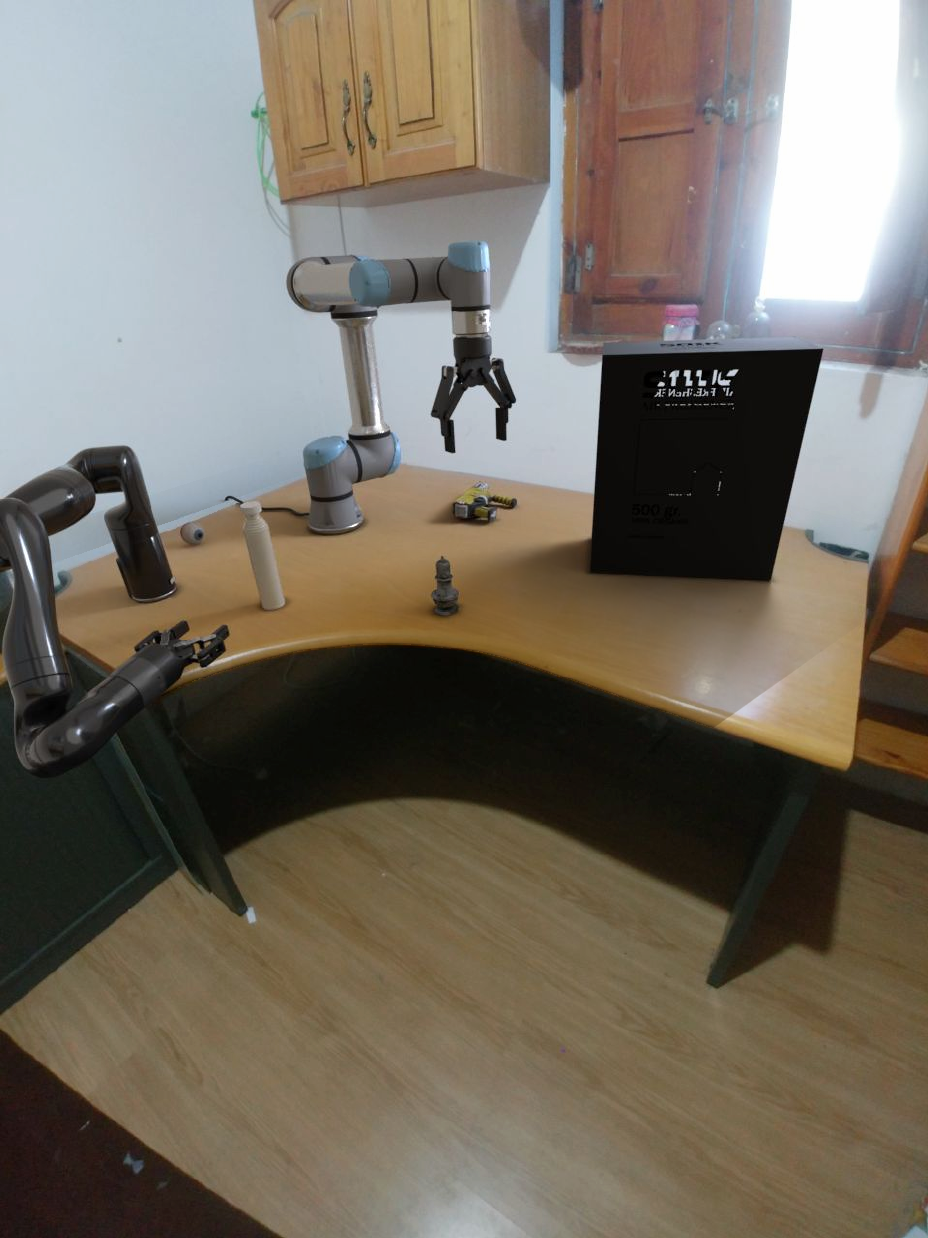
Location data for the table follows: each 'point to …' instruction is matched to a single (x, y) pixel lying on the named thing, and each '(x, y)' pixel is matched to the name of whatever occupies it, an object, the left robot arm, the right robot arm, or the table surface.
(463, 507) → the toy gun
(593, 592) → the table surface
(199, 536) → the eyeball
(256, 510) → the cap
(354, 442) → the right robot arm
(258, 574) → the bottle
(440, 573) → the grey chess piece
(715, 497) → the cardboard box
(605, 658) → the table surface
